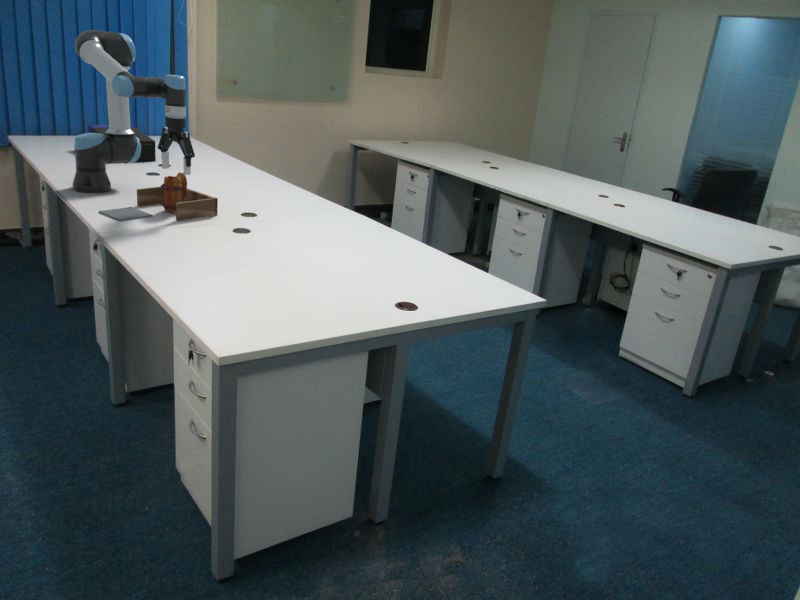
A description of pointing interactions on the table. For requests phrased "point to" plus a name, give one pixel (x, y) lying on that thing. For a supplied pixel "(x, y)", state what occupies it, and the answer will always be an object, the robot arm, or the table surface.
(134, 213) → the rubber mat
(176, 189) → the mug
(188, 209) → the wooden boards
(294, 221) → the table surface
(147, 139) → the headphone box
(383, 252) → the table surface
